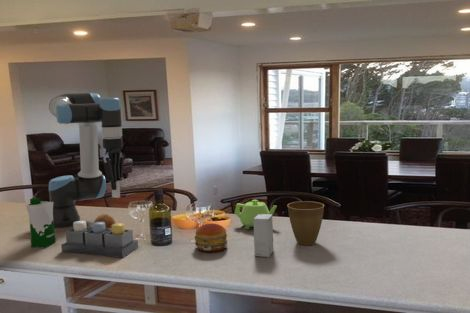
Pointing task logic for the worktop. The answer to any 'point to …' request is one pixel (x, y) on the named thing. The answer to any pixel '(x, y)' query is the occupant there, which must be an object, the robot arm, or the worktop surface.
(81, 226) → the cream button
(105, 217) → the onion
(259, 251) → the skincare box
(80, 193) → the robot arm
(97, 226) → the slate button
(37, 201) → the milk carton
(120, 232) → the mustard button
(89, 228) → the grey frame
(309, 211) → the plant pot
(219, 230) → the burger
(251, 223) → the teapot
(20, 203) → the worktop surface
